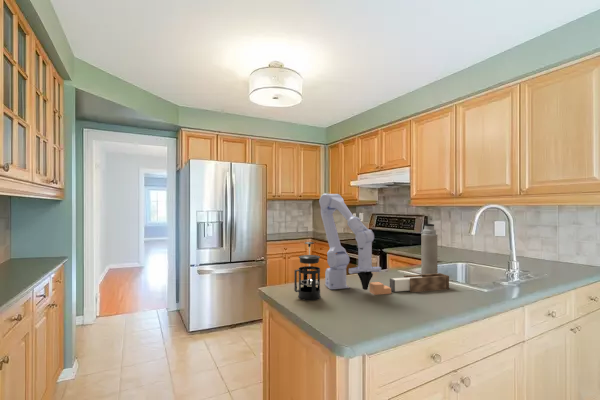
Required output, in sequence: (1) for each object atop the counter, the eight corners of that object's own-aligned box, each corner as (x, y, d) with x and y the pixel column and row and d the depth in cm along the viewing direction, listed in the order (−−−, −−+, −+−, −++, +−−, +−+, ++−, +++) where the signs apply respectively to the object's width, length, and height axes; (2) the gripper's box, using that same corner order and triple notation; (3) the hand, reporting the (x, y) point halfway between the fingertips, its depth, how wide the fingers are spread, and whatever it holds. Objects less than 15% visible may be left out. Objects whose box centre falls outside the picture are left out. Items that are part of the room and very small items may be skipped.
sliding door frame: (411, 292, 135) (411, 278, 135) (403, 288, 140) (403, 275, 140) (449, 289, 139) (449, 276, 139) (440, 285, 145) (440, 273, 145)
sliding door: (393, 291, 134) (393, 280, 134) (389, 289, 137) (389, 278, 137) (425, 289, 138) (425, 278, 138) (421, 287, 141) (421, 276, 141)
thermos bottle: (421, 273, 170) (421, 223, 170) (437, 275, 166) (437, 223, 167) (420, 276, 162) (420, 224, 163) (437, 278, 159) (437, 224, 159)
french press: (316, 292, 134) (316, 240, 134) (326, 298, 125) (326, 242, 126) (291, 295, 130) (291, 241, 130) (299, 302, 121) (299, 244, 121)
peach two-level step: (374, 295, 131) (374, 285, 131) (369, 292, 136) (369, 282, 136) (391, 293, 133) (391, 284, 133) (385, 291, 137) (385, 281, 137)
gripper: (353, 260, 127) (353, 293, 127) (384, 258, 131) (384, 290, 130) (346, 257, 134) (346, 288, 134) (376, 255, 137) (376, 286, 137)
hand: (365, 289), depth 133 cm, fingers closed
